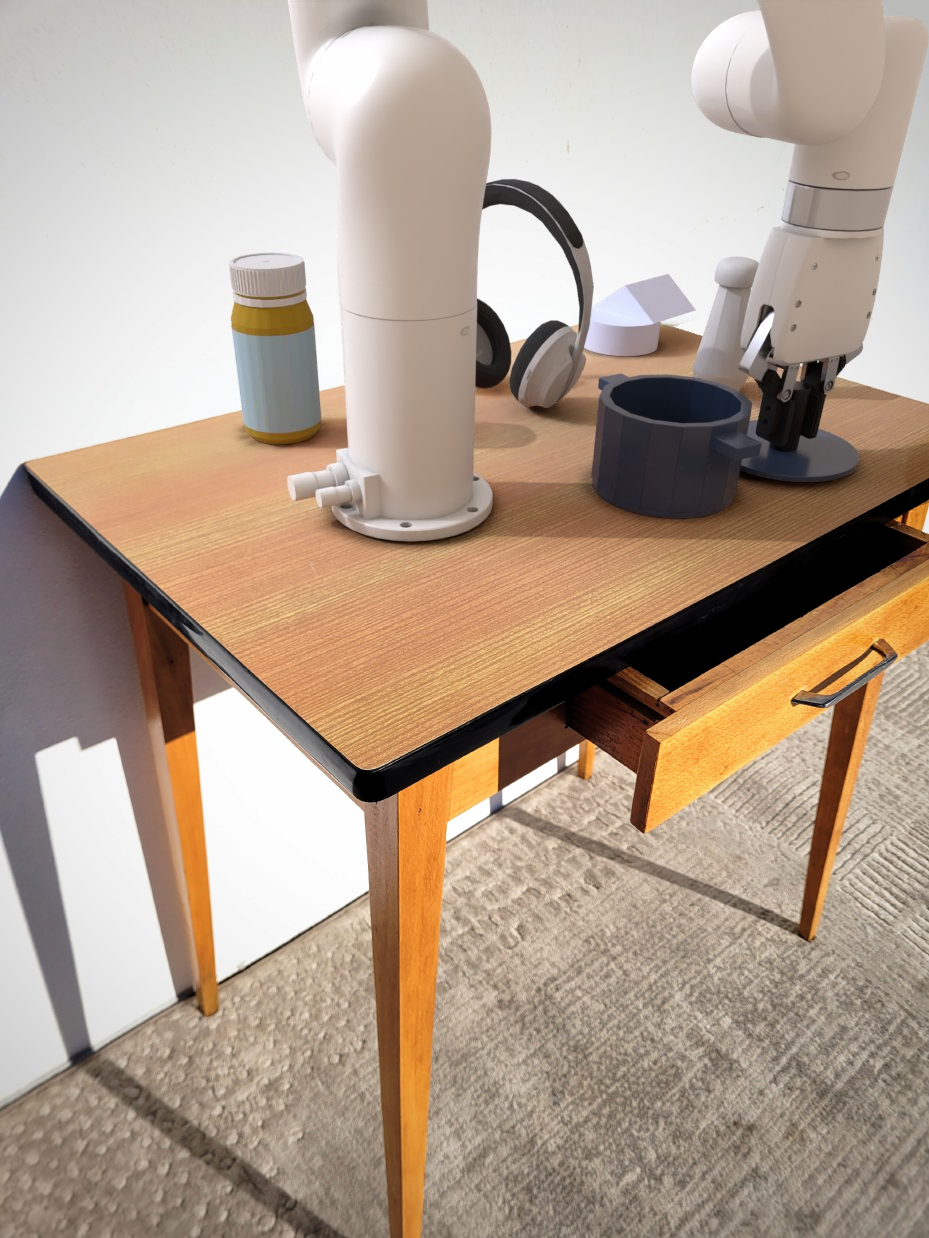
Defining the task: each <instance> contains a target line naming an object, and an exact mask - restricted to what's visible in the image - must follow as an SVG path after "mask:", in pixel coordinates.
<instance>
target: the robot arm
mask: <svg viewBox="0 0 929 1238" xmlns="http://www.w3.org/2000/svg"><path fill="white" fill-rule="evenodd" d="M756 1H757V5H758V7H759V9H760V10H751V11H746V12H742V13H739V14H736V15H734V16H732V17H729V18H728V19H726V20H724V21H723V22H721V23H720V24H719V25H717V26H716V27H715V28H714V29H713V30H712V31H710V33H709V34H708V35H707V36H706V37H705V39H704V40H703V42H702V44H701V45H700V47H699V48H698V50H697V53H696V55H695V58H694V60H693V64H692V69H691V77H690V79H691V81H690V82H691V90H692V91H691V92H692V96H693V98H694V101H695V103H696V105H697V108H698V109H699V110H700V112H701V114H703V116H704V117H705V118H706V119H707V120H708V121H710V122H711V123H712V124H714V125H715V126H717V127H719V128H720V129H723V130H724V131H727V132H731V133H733V134H739V135H744V136H750V137H754V138H759V139H761V138H763V139H764V138H767V139H769V140H770V139H771V140H774V141H780V142H783V143H787V144H793V146H794V147H793V151H792V152H793V153H792V157H791V162H790V167H789V174H788V180H787V184H786V188H785V189H786V190H785V195H784V199H783V205H782V212H781V217H780V223H779V225H778V226H774V227H772V228H771V229H770V233H769V235H768V237H767V240H766V243H765V245H764V247H763V250H762V253H761V256H760V259H759V261H758V263H759V265H758V268H757V271H756V275H755V278H754V282H753V285H752V287H751V293H750V297H749V301H748V305H747V310H746V314H745V319H744V324H743V329H742V334H741V349H742V350H743V351H745V354H744V356H743V358H742V360H741V362H740V364H739V367H738V369H739V371H740V372H742V373H744V374H746V375H748V376H749V377H750V378H752V379H753V380H754V382H755V383H756V385H757V390H758V392H760V393H761V394H762V397H761V402H760V407H759V411H758V417H757V420H758V421H757V426H756V435H757V436H758V437H760V438H762V439H764V440H767V441H769V442H771V443H773V444H775V445H777V446H783V445H785V444H786V443H787V441H788V436H789V431H790V427H791V422H792V418H793V413H794V408H795V402H796V401H793V400H791V399H790V398H791V396H792V393H793V389H794V385H795V382H796V381H797V377H798V374H799V370H800V366H801V371H800V377H799V382H804V383H807V384H809V385H810V386H811V392H810V396H809V401H808V405H807V409H806V414H805V418H804V423H803V427H802V431H801V436H803V437H805V438H807V439H812V438H815V437H816V436H817V433H818V429H820V424H821V419H822V415H823V411H824V407H825V403H826V400H827V399H826V398H827V394H829V393H830V392H832V391H833V389H834V387H835V384H836V378H837V377H838V376H839V375H840V373H841V372H842V371H843V370H844V369H845V367H846V365H848V364H849V363H850V362H852V361H853V360H854V359H855V358H857V357H859V356H860V355H861V353H862V352H863V350H864V341H865V338H866V336H867V333H868V329H869V327H870V323H871V319H872V315H873V311H874V306H875V302H876V298H877V297H876V296H877V292H878V287H879V286H878V285H879V280H880V274H881V268H882V260H883V251H884V239H885V238H884V237H885V229H884V226H885V224H886V219H887V215H888V211H889V206H890V201H891V198H892V194H893V190H894V186H895V183H896V179H897V175H898V170H899V167H900V162H901V159H902V155H903V150H904V147H905V142H906V137H907V133H908V130H909V127H910V121H911V118H912V114H913V109H914V105H915V101H916V97H917V92H918V89H919V85H920V81H921V76H922V72H923V68H924V64H925V60H926V56H927V51H928V45H929V30H928V28H927V27H928V26H927V25H926V24H925V23H924V22H923V20H921V19H919V18H917V17H913V16H908V15H885V14H884V9H883V8H884V7H883V0H756ZM287 5H288V6H287V7H288V13H289V19H290V27H291V33H292V40H293V41H292V42H293V47H294V53H295V61H296V66H297V68H296V69H297V74H298V80H299V86H300V92H301V97H302V103H303V107H304V112H305V116H306V119H307V123H308V126H309V129H310V131H311V134H312V137H313V138H314V140H315V142H316V143H317V145H318V147H319V149H320V150H321V151H322V152H323V154H324V156H326V158H327V159H328V160H329V161H330V162H331V163H332V164H333V165H335V166H336V176H337V177H336V179H337V180H336V182H337V183H336V184H337V189H336V190H337V194H336V195H337V199H336V268H337V269H336V273H337V275H336V276H337V292H338V304H339V312H340V313H339V314H340V315H339V316H340V329H341V331H340V333H341V347H342V348H341V349H342V364H343V365H342V366H343V381H344V397H345V401H344V402H345V415H346V416H345V417H346V433H347V434H346V435H347V447H344V448H338V449H336V450H335V455H336V462H333V463H329V464H328V463H327V464H326V467H325V469H322V470H317V471H311V470H310V471H306V472H301V473H296V474H290V475H288V476H287V478H286V486H287V490H288V494H289V496H290V498H291V500H292V501H293V502H299V501H303V500H307V499H313V498H315V499H316V500H315V501H316V504H317V506H318V508H319V509H325V508H329V507H331V511H332V513H333V516H334V517H335V518H336V519H337V520H338V521H339V522H340V523H341V525H343V526H345V527H346V528H348V529H350V530H351V531H354V532H356V533H359V534H361V535H363V536H366V537H371V538H374V539H379V540H385V541H393V542H411V543H412V542H428V541H429V542H430V541H437V540H443V539H446V538H451V537H455V536H458V535H460V534H463V533H466V532H469V531H471V530H472V529H474V528H475V527H478V526H479V525H480V524H482V523H483V522H484V521H485V520H487V518H488V517H489V515H490V514H491V512H492V510H493V504H494V503H493V502H494V499H493V498H494V496H493V494H494V493H493V490H492V487H491V485H490V484H489V483H488V482H487V480H486V479H484V478H483V477H482V476H481V475H479V474H478V473H476V472H474V465H475V464H474V462H475V423H476V422H475V420H476V419H475V418H476V417H475V416H476V415H475V414H476V388H475V378H476V332H477V298H478V273H479V272H478V270H479V269H478V268H479V248H480V236H481V235H480V234H481V223H482V222H481V220H482V215H483V210H482V207H483V201H484V194H485V188H486V183H488V182H487V181H488V176H489V175H488V174H489V169H490V167H489V166H490V161H491V152H492V151H491V150H492V119H491V117H492V116H491V111H490V106H489V101H488V97H487V94H486V90H485V87H484V85H483V82H482V80H481V78H480V76H479V74H478V72H477V70H476V69H475V68H474V66H473V64H472V63H471V61H470V60H469V59H468V57H467V56H466V54H464V53H463V51H461V50H460V49H459V48H458V47H457V46H456V45H454V44H453V43H452V42H450V41H449V40H448V39H446V37H443V36H442V35H440V34H437V33H436V32H433V31H430V21H429V6H428V0H287ZM801 364H802V365H801ZM778 368H779V369H782V374H781V376H780V375H779V373H778Z"/></svg>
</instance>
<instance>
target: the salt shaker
mask: <svg viewBox="0 0 929 1238" xmlns="http://www.w3.org/2000/svg"><path fill="white" fill-rule="evenodd" d="M758 265H759V261H757V260H756V259H753V258H749V257H745V256H727V257H724V258H722V259H720V260H719V261H718V262H717V265H716V267H715V270H714V283H716V284H717V285H718V288H717V291H716V294H715V297H714V301H713V303H712V306H711V310H710V313H709V315H708V318H707V322H706V326H705V328H704V331H703V334H702V337H701V340H700V343H699V345H698V346H699V347H698V349H697V351H696V352H697V353H696V355H695V358H694V362H693V365H692V372H693V377H696V378H701V379H705V380H709V381H713V382H717V383H721V384H724V385H726V386H728V387H730V388H733V389H735V390H737V391H739V392H741V389H742V388H743V387H744V385H745V383H746V382H747V381H748V379H749V377H750V376H748V375H746V374H744V373H742V372H740V371H739V369H738V367H739V364H740V362H741V360H742V358H743V356H744V354H745V351H743V350H742V349H741V334H742V329H743V324H744V319H745V314H746V310H747V305H748V301H749V297H750V293H751V289H752V285H753V282H754V278H755V275H756V271H757V268H758Z"/></svg>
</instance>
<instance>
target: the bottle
mask: <svg viewBox="0 0 929 1238" xmlns="http://www.w3.org/2000/svg"><path fill="white" fill-rule="evenodd" d="M228 269H229V276H230V284H231V289H232V299H233V301H234V302H233V305H232V311H231V315H230V323H231V325H230V326H231V327H230V328H231V334H232V341H233V350H234V357H235V366H236V373H237V382H238V390H239V398H240V407H241V414H242V422H243V427H244V431H245V432H246V433H247V434H248V435H249V436H250V437H251V438H252V439H254V440H255V441H257V442H260V443H262V444H268V445H269V444H270V445H289V444H291V445H292V444H297V443H301V442H304V441H307V440H309V439H311V438H312V437H314V436H315V435H316V434H317V433H318V431H319V430H320V429H321V426H322V409H321V408H322V407H321V393H320V381H319V367H318V356H317V342H316V341H317V340H316V329H315V328H316V327H315V320H314V314H313V312H312V309H311V307H310V304H309V302H308V300H307V296H308V293H307V288H306V286H307V276H306V264H305V261H304V258H303V256H300V255H297V254H293V253H289V252H287V253H286V252H273V251H271V252H270V251H269V252H255V253H246V254H241V255H237V256H233V257H232V258H231V259H230V260H229V263H228Z"/></svg>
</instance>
